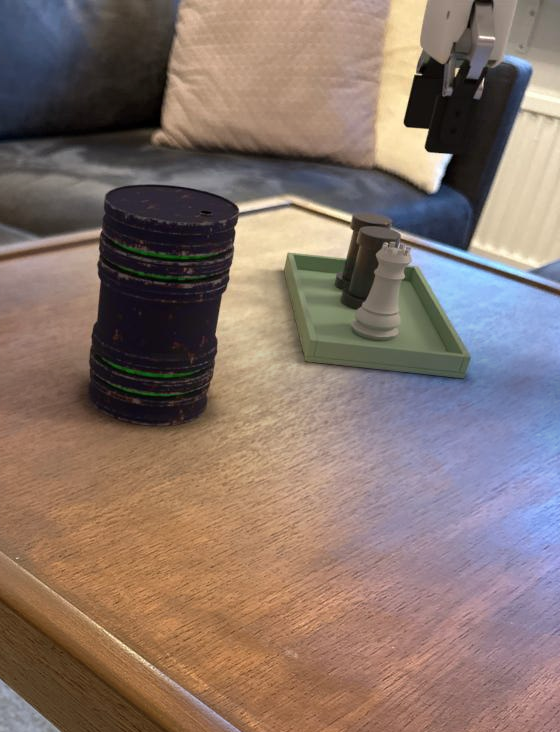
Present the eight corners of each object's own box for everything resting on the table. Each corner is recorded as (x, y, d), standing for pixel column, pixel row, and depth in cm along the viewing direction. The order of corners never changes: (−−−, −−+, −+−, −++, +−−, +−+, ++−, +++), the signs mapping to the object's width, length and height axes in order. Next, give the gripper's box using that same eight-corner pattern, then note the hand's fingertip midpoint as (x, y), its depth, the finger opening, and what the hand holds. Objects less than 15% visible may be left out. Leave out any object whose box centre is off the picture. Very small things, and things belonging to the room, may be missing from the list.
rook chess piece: (348, 321, 95) (369, 236, 90) (394, 327, 95) (418, 242, 90) (351, 338, 92) (374, 250, 87) (400, 344, 91) (425, 256, 86)
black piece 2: (380, 298, 101) (399, 228, 97) (387, 313, 98) (406, 241, 93) (337, 294, 101) (354, 223, 97) (342, 309, 98) (360, 236, 93)
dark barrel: (61, 397, 78) (74, 198, 69) (131, 362, 84) (152, 176, 75) (165, 439, 74) (194, 233, 64) (230, 399, 80) (266, 207, 71)
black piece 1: (372, 282, 105) (390, 214, 101) (379, 296, 102) (398, 226, 97) (331, 278, 105) (348, 209, 101) (336, 292, 102) (353, 221, 97)
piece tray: (413, 284, 107) (418, 266, 106) (464, 378, 87) (471, 357, 86) (283, 270, 107) (287, 252, 106) (305, 361, 88) (310, 339, 86)
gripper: (585, -111, 65) (502, 167, 76) (516, -114, 79) (454, 122, 89) (471, -119, 65) (405, 160, 76) (422, -121, 79) (372, 116, 90)
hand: (432, 139), depth 83 cm, fingers open, 9 cm apart
